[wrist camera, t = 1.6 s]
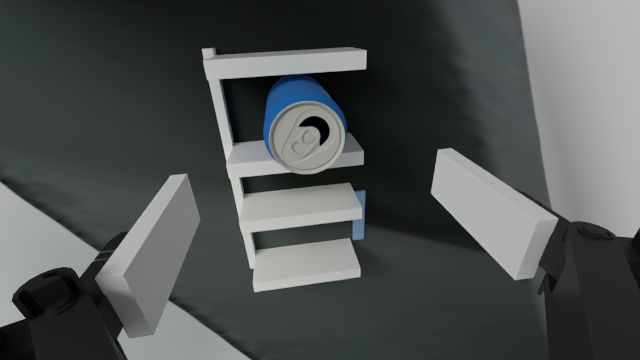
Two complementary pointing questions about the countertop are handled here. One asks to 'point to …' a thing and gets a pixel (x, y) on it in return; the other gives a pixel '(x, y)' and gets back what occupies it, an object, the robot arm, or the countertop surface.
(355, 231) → the blue bezel
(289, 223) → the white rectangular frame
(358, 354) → the countertop surface
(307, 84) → the beverage can
